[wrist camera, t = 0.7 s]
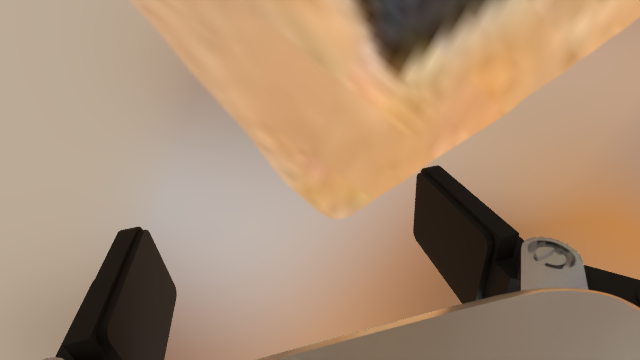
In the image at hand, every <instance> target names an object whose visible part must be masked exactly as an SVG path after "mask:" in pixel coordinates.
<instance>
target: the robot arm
mask: <svg viewBox="0 0 640 360" xmlns="http://www.w3.org/2000/svg"><path fill="white" fill-rule="evenodd" d="M413 230H414V236H415V239H416V241H417V242H418V243H419V245H420V246H421V247H422V249H423V250H424V252H425V253H426V254H427V255H428V257H429V258H430V260H431V261H432V263H433V264H434V265H435V267H436V268H437V269H438V271H439V272H440V274H441V275H442V276H443V278H444V279H445V280H446V282H447V283H448V285H449V286H450V287H451V289H452V290H453V291H454V293H455V294H456V295H457V297H458V298H459V300H460V301H461V302H462V304H461V305H456V306H452V307H448V308H445V309H441V310H437V311H434V312H430V313H426V314H422V315H418V316H415V317H411V318H407V319H403V320H399V321H396V322H392V323H389V324H384V325H381V326H377V327H373V328H369V329H366V330H362V331H359V332H355V333H351V334H348V335H343V336H340V337H336V338H332V339H329V340H325V341H321V342H318V343H314V344H310V345H307V346H303V347H299V348H296V349H292V350H289V351H285V352H281V353H277V354H274V355H270V356H267V357H263V358H259V359H256V360H640V280H638V279H634V278H630V277H626V276H623V275H619V274H615V273H612V272H608V271H604V270H601V269H597V268H593V267H589V266H586V265H583V261H582V258H581V256H580V255H579V253H577V251H576V250H575V249H573V248H572V247H570V246H569V245H567V244H565V243H563V242H561V241H559V240H555V239H552V238H546V237H533V238H529V239H527V240H526V241H524V240H523V239H522V238H520V237H519V233H518V232H517V231H516V230H514V229H513V228H512V227H511V226H510V225H509V224H507V223H506V222H505V221H504V220H503V219H502V218H500V217H499V216H498V215H497V214H495V213H494V212H493V211H492V210H491V209H489V207H487V206H486V205H485V204H484V203H483V202H481V201H480V200H479V199H478V198H477V197H476V196H474V195H473V194H472V193H471V192H470V191H469V190H467V189H466V188H465V187H464V186H463V185H462V184H460V183H459V182H458V181H457V180H456V179H454V178H453V177H452V176H451V175H450V174H449V173H447V172H446V171H445V170H444V169H443V168H442V167H440V166H432V167H428V168H423V169H422V170H421V173H419V174H418V175H417V183H416V198H415V213H414V229H413ZM175 301H176V287H175V285H174V283H173V281H172V279H171V277H170V275H169V272H168V270H167V268H166V266H165V264H164V262H163V260H162V258H161V255H160V253H159V251H158V249H157V247H156V245H155V243H154V241H153V239H152V237H151V235H150V233H149V231H148V230H142V228H141V227H135V228H130V229H125V230H121V231H119V232H118V234H117V236H116V238H115V240H114V242H113V244H112V246H111V248H110V250H109V252H108V254H107V256H106V258H105V260H104V262H103V264H102V266H101V268H100V270H99V272H98V274H97V276H96V278H95V280H94V281H93V283H92V284H91V286H90V288H89V290H88V292H87V294H86V296H85V298H84V300H83V302H82V304H81V306H80V308H79V310H78V312H77V314H76V316H75V318H74V320H73V322H72V324H71V326H70V328H69V330H68V333H67V334H66V336H65V339H64V341H63V343H62V345H61V347H60V349H59V351H58V353H57V355H56V357H52V358H46V359H43V360H164V357H165V352H166V347H167V342H168V337H169V331H170V327H171V322H172V317H173V311H174V307H175Z"/></svg>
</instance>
